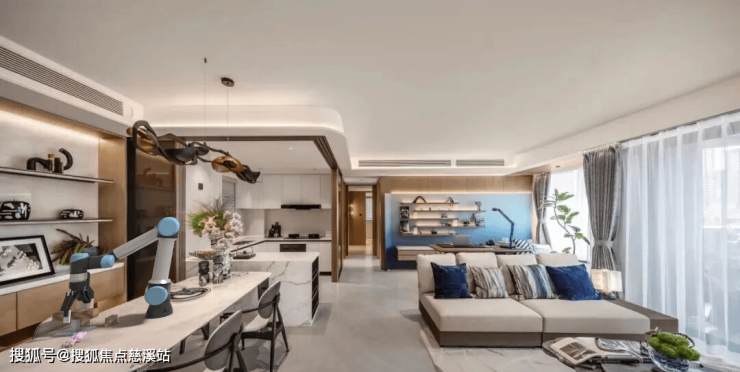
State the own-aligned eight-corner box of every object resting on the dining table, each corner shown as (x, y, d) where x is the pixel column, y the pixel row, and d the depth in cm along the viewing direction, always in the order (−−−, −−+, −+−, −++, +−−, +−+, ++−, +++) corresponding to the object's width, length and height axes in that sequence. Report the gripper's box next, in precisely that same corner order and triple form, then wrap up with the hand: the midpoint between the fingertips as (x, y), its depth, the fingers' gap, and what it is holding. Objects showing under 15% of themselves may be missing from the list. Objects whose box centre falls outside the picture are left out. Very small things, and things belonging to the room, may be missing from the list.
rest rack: (117, 322, 193) (117, 314, 193) (110, 326, 186) (110, 317, 186) (84, 324, 189) (84, 316, 190) (75, 329, 183) (76, 320, 183)
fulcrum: (95, 328, 184) (96, 314, 184) (81, 335, 173) (82, 320, 173) (68, 330, 181) (69, 316, 182) (52, 337, 170) (53, 322, 171)
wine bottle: (82, 321, 195) (85, 273, 198) (71, 321, 197) (74, 272, 200) (96, 317, 204) (98, 270, 206) (86, 316, 205) (88, 270, 208)
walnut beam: (98, 315, 182) (99, 307, 182) (92, 318, 177) (93, 310, 177) (59, 318, 178) (59, 310, 179) (51, 321, 173) (52, 313, 174)
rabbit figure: (73, 350, 156) (92, 334, 171) (73, 339, 156) (91, 324, 170) (58, 352, 155) (78, 335, 169) (58, 340, 154) (77, 325, 169)
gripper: (86, 276, 191) (84, 312, 189) (52, 285, 167) (50, 327, 165) (100, 276, 192) (98, 311, 190) (68, 285, 168) (66, 325, 166)
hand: (75, 318), depth 178 cm, fingers open, 13 cm apart
